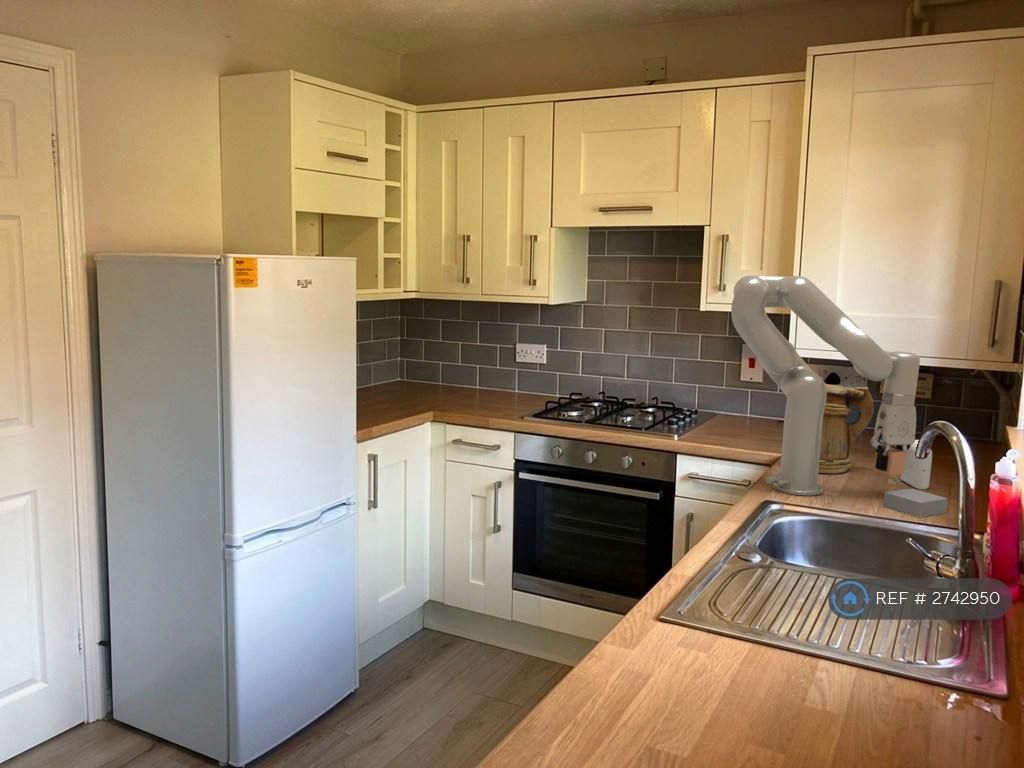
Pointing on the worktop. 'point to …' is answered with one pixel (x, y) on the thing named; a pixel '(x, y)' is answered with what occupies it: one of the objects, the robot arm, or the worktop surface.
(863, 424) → the tankard
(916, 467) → the photo printer
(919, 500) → the slate block
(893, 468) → the terracotta block
